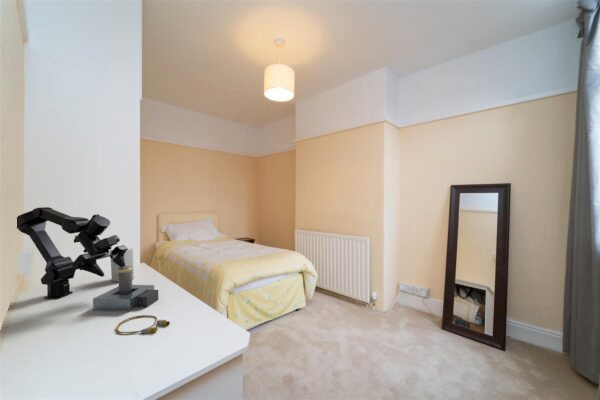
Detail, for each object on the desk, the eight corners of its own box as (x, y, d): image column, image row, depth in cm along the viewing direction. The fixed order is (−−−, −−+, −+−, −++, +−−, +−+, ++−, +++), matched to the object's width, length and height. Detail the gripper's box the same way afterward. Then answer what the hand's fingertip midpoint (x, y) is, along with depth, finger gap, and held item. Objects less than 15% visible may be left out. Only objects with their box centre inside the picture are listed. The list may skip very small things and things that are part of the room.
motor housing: (93, 310, 90) (92, 298, 90) (122, 295, 104) (122, 284, 104) (140, 311, 90) (140, 299, 89) (163, 295, 104) (163, 285, 103)
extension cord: (129, 346, 70) (128, 339, 70) (110, 327, 80) (110, 321, 80) (172, 327, 80) (172, 321, 80) (150, 313, 90) (150, 307, 90)
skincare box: (134, 278, 124) (134, 248, 124) (120, 283, 118) (119, 251, 118) (124, 276, 128) (124, 246, 127) (110, 280, 122) (109, 249, 121)
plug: (117, 306, 94) (116, 270, 94) (119, 301, 98) (119, 266, 98) (131, 303, 96) (131, 268, 96) (133, 299, 100) (133, 265, 100)
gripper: (78, 233, 89) (103, 265, 87) (124, 226, 107) (145, 253, 106) (61, 253, 91) (85, 285, 89) (109, 243, 109) (130, 270, 107)
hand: (114, 272), depth 98 cm, fingers open, 9 cm apart
